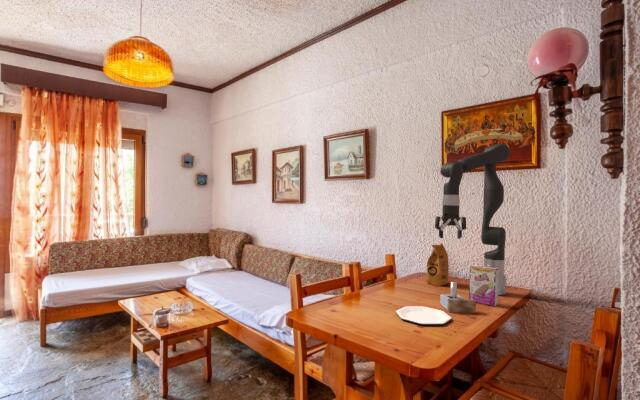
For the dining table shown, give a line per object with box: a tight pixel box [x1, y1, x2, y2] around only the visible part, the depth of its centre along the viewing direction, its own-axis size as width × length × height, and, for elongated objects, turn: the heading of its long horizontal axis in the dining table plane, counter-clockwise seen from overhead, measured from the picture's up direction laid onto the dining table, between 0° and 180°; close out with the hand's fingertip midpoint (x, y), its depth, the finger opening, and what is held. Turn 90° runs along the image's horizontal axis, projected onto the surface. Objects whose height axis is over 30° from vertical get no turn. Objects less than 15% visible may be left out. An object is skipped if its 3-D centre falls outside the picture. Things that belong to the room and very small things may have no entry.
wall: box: [447, 298, 477, 314], centre depth 143 cm, size 11×2×5 cm, turn 92°
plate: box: [395, 305, 452, 326], centre depth 135 cm, size 20×20×2 cm
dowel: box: [449, 281, 458, 299], centre depth 147 cm, size 3×3×10 cm
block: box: [439, 293, 465, 311], centre depth 147 cm, size 8×8×4 cm
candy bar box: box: [468, 264, 499, 307], centre depth 155 cm, size 11×5×16 cm, turn 47°
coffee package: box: [425, 242, 450, 287], centre depth 190 cm, size 10×12×22 cm
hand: (450, 238), depth 164 cm, fingers open, 8 cm apart
